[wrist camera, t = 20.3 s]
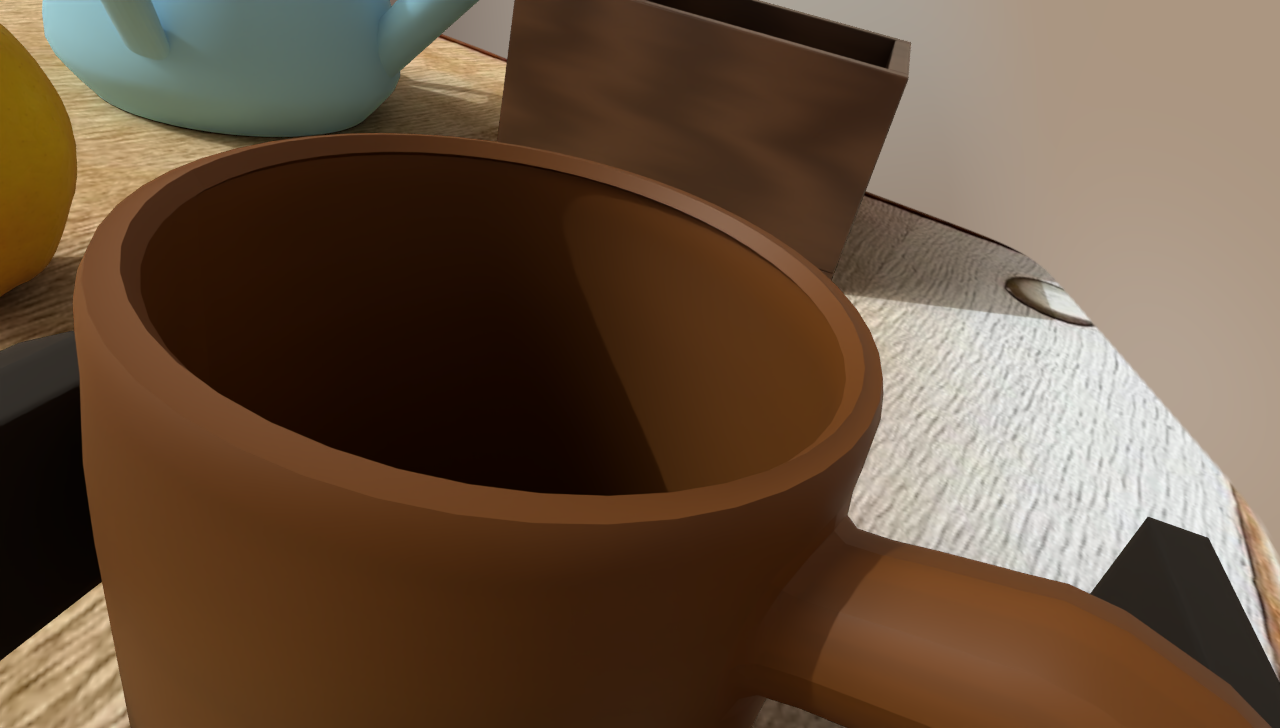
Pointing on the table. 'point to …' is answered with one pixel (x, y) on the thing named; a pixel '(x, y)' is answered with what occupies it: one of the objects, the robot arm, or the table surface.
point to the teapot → (246, 58)
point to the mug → (527, 468)
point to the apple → (31, 165)
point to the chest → (712, 104)
